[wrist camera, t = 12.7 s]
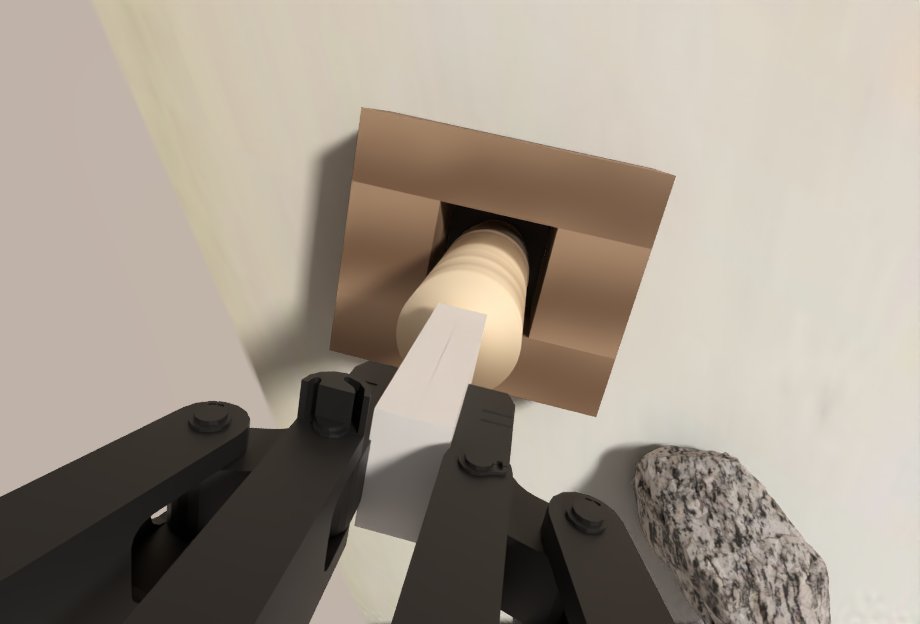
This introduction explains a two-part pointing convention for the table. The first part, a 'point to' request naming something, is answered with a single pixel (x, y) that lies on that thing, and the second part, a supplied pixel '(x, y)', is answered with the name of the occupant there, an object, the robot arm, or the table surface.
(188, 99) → the table surface
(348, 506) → the robot arm
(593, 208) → the board
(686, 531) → the rock
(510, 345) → the peg
